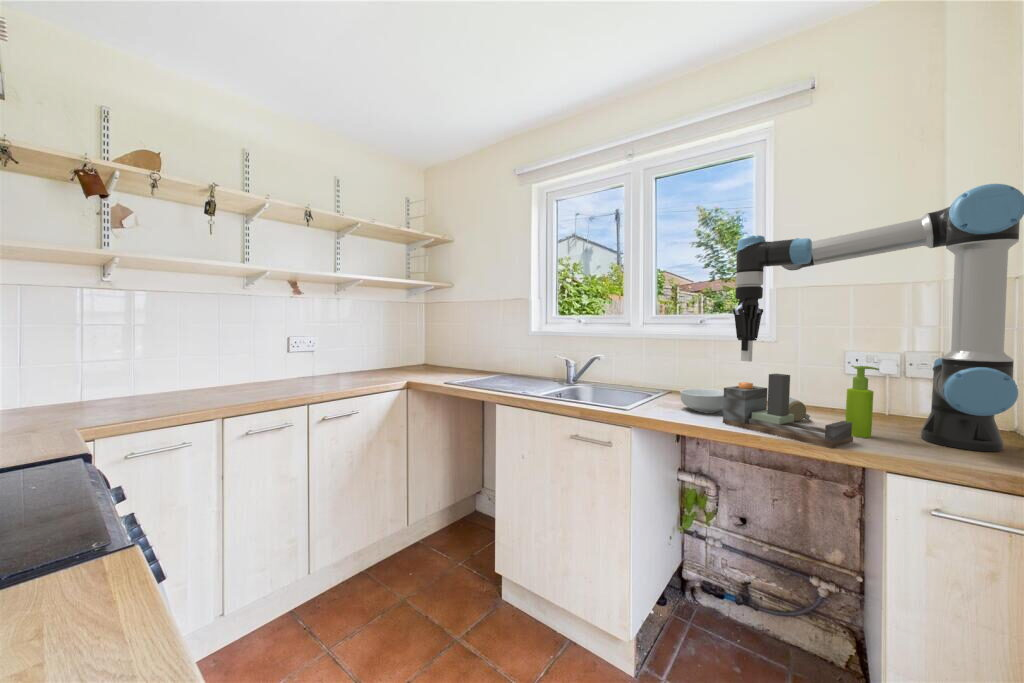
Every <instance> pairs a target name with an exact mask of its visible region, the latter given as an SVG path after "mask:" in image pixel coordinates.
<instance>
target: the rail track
mask: <svg viewBox="0 0 1024 683" xmlns="http://www.w3.org/2000/svg"><path fill="white" fill-rule="evenodd" d="M723 391H724V400H723V409H722V424H723V423H725V424H724V425H728V424H729V425H728V426H732V425H733V426H732V427H736V426H737V427H736V428H741V427H742V428H741V429H745V428H746V430H749V429H751V430H750V431H754V430H755V432H758V431H760V432H759V433H762V432H763V434H767V433H768V435H771V434H772V436H775V435H777V436H776V437H780V436H781V438H784V437H785V438H784V439H788V438H790V440H793V439H794V441H797V440H798V442H802V443H807V444H811V445H814V446H820V447H822V448H823V447H824V448H828V449H835V448H836V447H837V446H838V447H840V445H841V446H843V445H846V444H850V442H851V443H853V441H854V436H851V432H852V422H847V421H846V420H841V421H836V422H833V423H829V424H826V425H825V428H824V427H820V426H815V425H809V424H806V423H805V424H804V423H800V422H796V421H793V422H789V423H784V424H780V425H779V424H774V423H769V422H764V421H759V420H755V419H752V412H757V411H762V410H767V409H768V387H762V386H756V385H755V386H754V385H753V389H750V390H748V389H741V388H739V385H735V386H726V387H723Z"/></svg>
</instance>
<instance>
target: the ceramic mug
mask: <svg viewBox="0 0 1024 683" xmlns="http://www.w3.org/2000/svg"><path fill="white" fill-rule="evenodd" d="M789 414H793V415H794V421H793V422H800V421H801V420H803V418H805V419H804V420H806V419H807V420H806V421H810V420H809V419H810V418H811V415H810V414H808V413H807V407H806V406H805V404H804V402H802V401H800V400H798V399H796V398H793V397H790V396H789Z"/></svg>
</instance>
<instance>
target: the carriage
mask: <svg viewBox="0 0 1024 683" xmlns="http://www.w3.org/2000/svg"><path fill="white" fill-rule="evenodd" d="M767 383H768V387H767V410H762V411H757V412H752V419H755V420H759V421H764V422H769V423H774V424H779V425H780V424H784V423H789V422H795V421H794V415H793V414H789V397H790V388H791V374H784V373H769V374H768V382H767Z"/></svg>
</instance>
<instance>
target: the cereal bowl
mask: <svg viewBox="0 0 1024 683" xmlns="http://www.w3.org/2000/svg"><path fill="white" fill-rule="evenodd" d="M679 392H680V396H679V397H680V400H681V403H682V404H683V405H684V406H686V407H687V408H689V409H692V411H694V410H695V411H694V412H696V411H699V412H698V413H701V412H707V413H706V414H715V413H717V412H718V411H720V410H723V400H724V390H719V389H713V388H685V389H684V388H683V389H681V390H680V391H679ZM714 412H715V413H714Z"/></svg>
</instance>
